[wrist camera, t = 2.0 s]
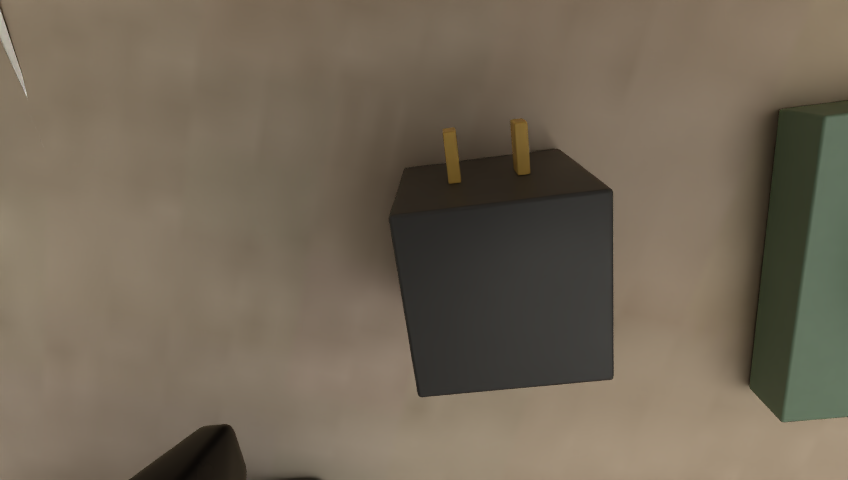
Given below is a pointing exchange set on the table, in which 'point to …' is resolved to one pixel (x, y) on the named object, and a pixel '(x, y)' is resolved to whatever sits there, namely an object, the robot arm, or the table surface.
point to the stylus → (10, 51)
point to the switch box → (805, 269)
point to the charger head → (505, 270)
